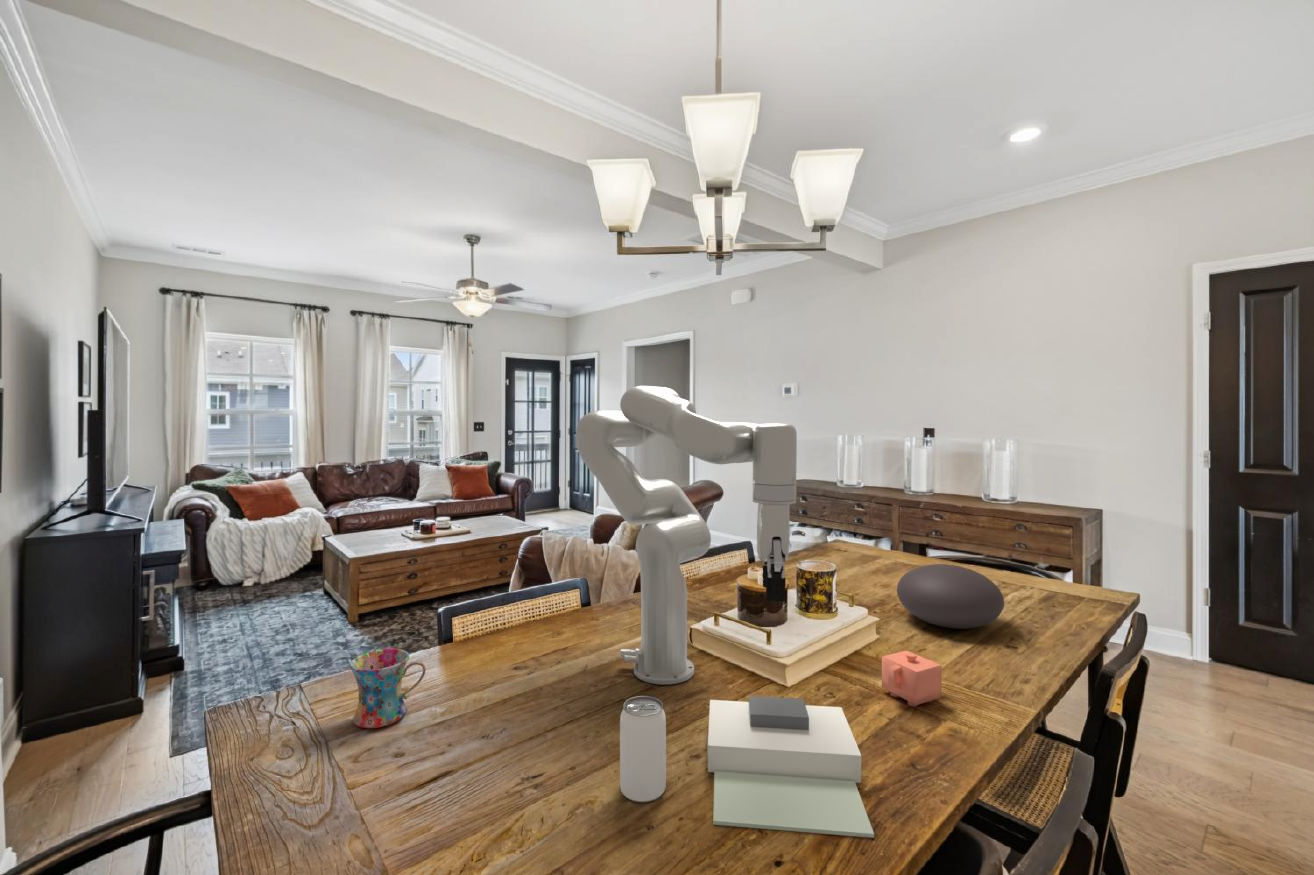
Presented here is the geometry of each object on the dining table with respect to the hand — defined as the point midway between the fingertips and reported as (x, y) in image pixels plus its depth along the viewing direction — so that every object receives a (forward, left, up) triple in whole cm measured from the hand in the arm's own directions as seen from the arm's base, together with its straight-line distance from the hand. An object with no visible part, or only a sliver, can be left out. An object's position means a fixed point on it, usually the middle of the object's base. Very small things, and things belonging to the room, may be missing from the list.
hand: (773, 593), depth 100 cm
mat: (0, -24, -22) cm, 32 cm away
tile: (0, -9, -18) cm, 20 cm away
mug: (-67, -9, -22) cm, 71 cm away
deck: (0, -11, -22) cm, 24 cm away
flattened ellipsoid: (+49, +52, -22) cm, 75 cm away
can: (-20, -23, -22) cm, 38 cm away
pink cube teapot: (+27, +10, -22) cm, 36 cm away
